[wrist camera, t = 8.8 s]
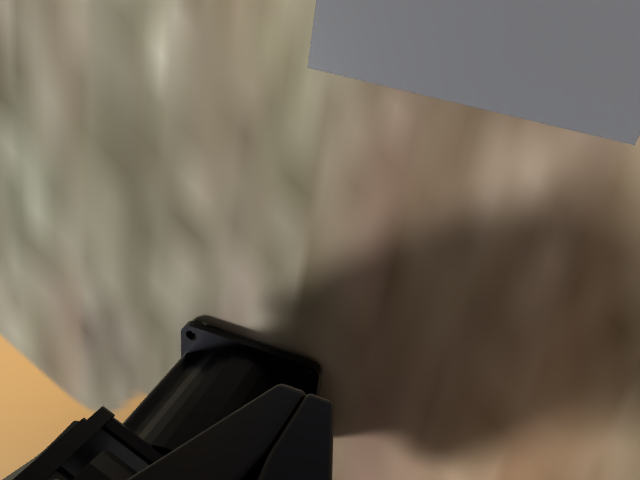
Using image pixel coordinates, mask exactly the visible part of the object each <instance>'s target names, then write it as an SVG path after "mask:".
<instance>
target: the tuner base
mask: <svg viewBox="0 0 640 480" xmlns="http://www.w3.org/2000/svg"><path fill="white" fill-rule="evenodd" d="M308 68H311V69H315V70H319V71H324V72H328V73H332V74H336V75H340V76H345V77H349V78H353V79H357V80H362V81H366V82H370V83H374V84H379V85H383V86H387V87H391V88H395V89H400V90H404V91H408V92H412V93H417V94H421V95H425V96H429V97H433V98H438V99H442V100H446V101H450V102H455V103H459V104H463V105H467V106H472V107H476V108H480V109H484V110H488V111H493V112H497V113H501V114H505V115H510V116H514V117H518V118H522V119H526V120H531V121H535V122H539V123H543V124H548V125H552V126H556V127H560V128H565V129H569V130H573V131H577V132H581V133H586V134H590V135H594V136H598V137H603V138H607V139H611V140H615V141H619V142H624V143H628V144H632V145H635V143H636V141H637V139H638V137H639V134H640V0H316V7H315V15H314V23H313V30H312V38H311V46H310V53H309V61H308Z"/></svg>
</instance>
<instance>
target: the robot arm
mask: <svg viewBox="0 0 640 480" xmlns="http://www.w3.org/2000/svg"><path fill="white" fill-rule="evenodd" d="M192 332H194V333H195V334H193V333H192ZM306 370H308V371H310V372H311V373H312V374H310V373H308V372H307V371H306ZM321 376H322V369H321V367H320V365H319V364H318V363H317V362H315V361H313V360H310V359H307V358H304V357H301V356H298V355H295V354H292V353H289V352H286V351H283V350H280V349H277V348H274V347H271V346H268V345H265V344H262V343H259V342H256V341H253V340H250V339H247V338H244V337H241V336H238V335H235V334H232V333H229V332H226V331H223V330H220V329H217V328H214V327H211V326H208V325H205V324H202V323H199V322H196V321H190V322H188V323H187V324H186V325H185V326H184V327H183V328H182V330H181V359H180V360H179V361H178V362H177V363H176V364H175V366H174V367H173V368H172V369H171V370H170V371H169V372H168V373H167V374H166V376H165V377H164V378H163V379H162V380H161V381H160V382H159V383H158V385H157V386H156V387H155V388H154V389H153V390H152V391H151V392H150V394H149V395H148V396H147V397H146V398H145V399H144V400H143V401H142V403H141V404H140V405H139V406H138V407H137V408H136V410H135V411H133V413H132V414H131V415H130V416H129V417H128V418H127V419H126V420H125V422H124V423H123V424H122V423H121V422H119V421H118V420H117V419H115V418H114V416H115V415H114V414H113V413H112V412H110V411H109V410H108V409H106V408H105V407H104V406H102V407H101V408H100V409H99V410H98V411H97V412H95V413H94V414H93V415H92V416H91V417H90V418H89V419H88V420H86V419H85V418H83V419H81V420H80V421H73V422H72V423H71V424H70V425H69V426H68V427H67V428H66V429H65V430H64V431H63V433H61V434H60V435H59V436H58V437H57V438H56V439H55V440H54V441H53V442H52V443H51V444H50V445H49V446H48V447H47V448H46V449H45V450H44V451H43V452H41V453H40V454H39V455H38V456H37V457H35V458H34V459H32V460H31V461H29V462H28V463H26V464H25V465H23V466H22V467H20V468H19V469H17V470H16V471H14V472H13V473H11V474H10V475H9V476H7V477H6V478H4V479H3V480H332V464H333V424H334V404H333V402H332V401H331V400H328V399H325V398H322V397H320V396H319V390H320V383H321Z"/></svg>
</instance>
